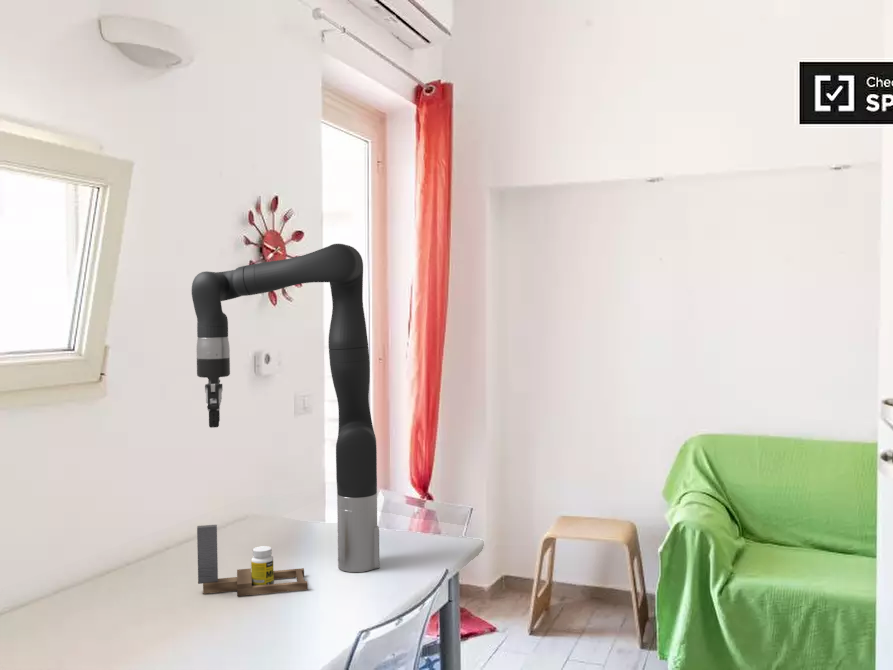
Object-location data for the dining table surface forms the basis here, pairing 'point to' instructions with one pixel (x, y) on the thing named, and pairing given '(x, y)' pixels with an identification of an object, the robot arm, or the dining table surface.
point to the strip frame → (243, 579)
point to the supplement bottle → (262, 566)
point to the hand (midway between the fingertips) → (214, 424)
